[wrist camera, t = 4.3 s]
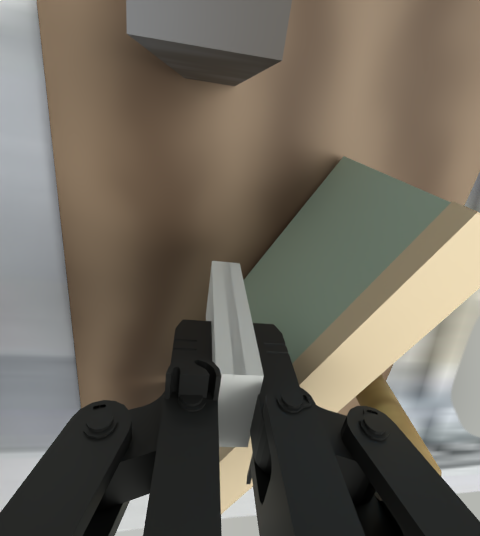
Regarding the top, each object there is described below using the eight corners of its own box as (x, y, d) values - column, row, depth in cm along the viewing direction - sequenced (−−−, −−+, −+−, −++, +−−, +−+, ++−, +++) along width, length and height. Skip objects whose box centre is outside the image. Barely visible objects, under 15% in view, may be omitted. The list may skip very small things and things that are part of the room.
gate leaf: (166, 371, 23) (137, 541, 14) (341, 153, 17) (477, 211, 8) (190, 382, 24) (177, 552, 15) (367, 176, 18) (520, 252, 9)
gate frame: (87, 415, 27) (-8, 659, 15) (36, -99, 13) (-1107, -1388, 2) (357, 423, 30) (451, 632, 18) (535, 8, 16) (1329, -214, 5)
